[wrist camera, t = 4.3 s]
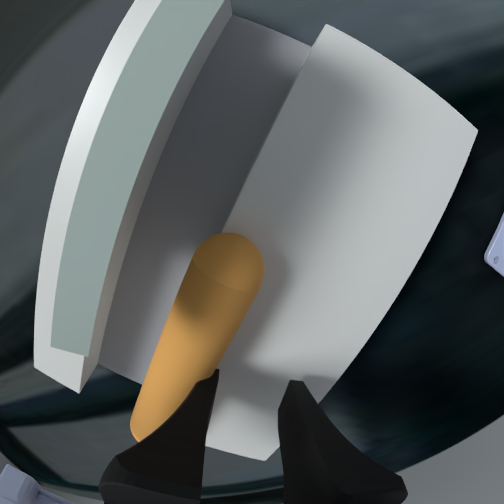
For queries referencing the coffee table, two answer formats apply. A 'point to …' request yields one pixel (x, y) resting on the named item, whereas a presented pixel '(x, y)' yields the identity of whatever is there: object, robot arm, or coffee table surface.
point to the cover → (120, 162)
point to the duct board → (262, 209)
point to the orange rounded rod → (199, 326)
